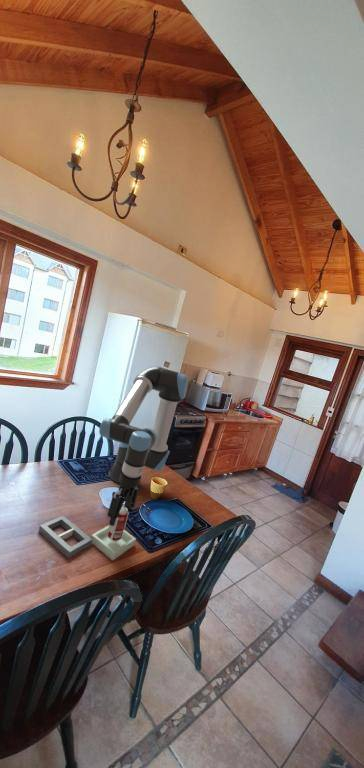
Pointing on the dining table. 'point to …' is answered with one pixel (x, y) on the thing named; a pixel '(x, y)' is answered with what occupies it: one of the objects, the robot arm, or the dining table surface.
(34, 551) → the dining table surface
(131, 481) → the robot arm
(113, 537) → the soda can
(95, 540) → the tray
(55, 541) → the frame
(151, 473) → the dining table surface
